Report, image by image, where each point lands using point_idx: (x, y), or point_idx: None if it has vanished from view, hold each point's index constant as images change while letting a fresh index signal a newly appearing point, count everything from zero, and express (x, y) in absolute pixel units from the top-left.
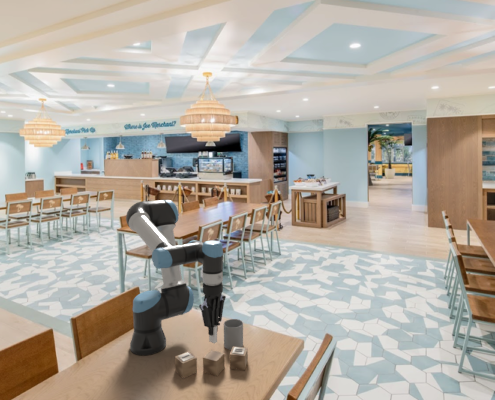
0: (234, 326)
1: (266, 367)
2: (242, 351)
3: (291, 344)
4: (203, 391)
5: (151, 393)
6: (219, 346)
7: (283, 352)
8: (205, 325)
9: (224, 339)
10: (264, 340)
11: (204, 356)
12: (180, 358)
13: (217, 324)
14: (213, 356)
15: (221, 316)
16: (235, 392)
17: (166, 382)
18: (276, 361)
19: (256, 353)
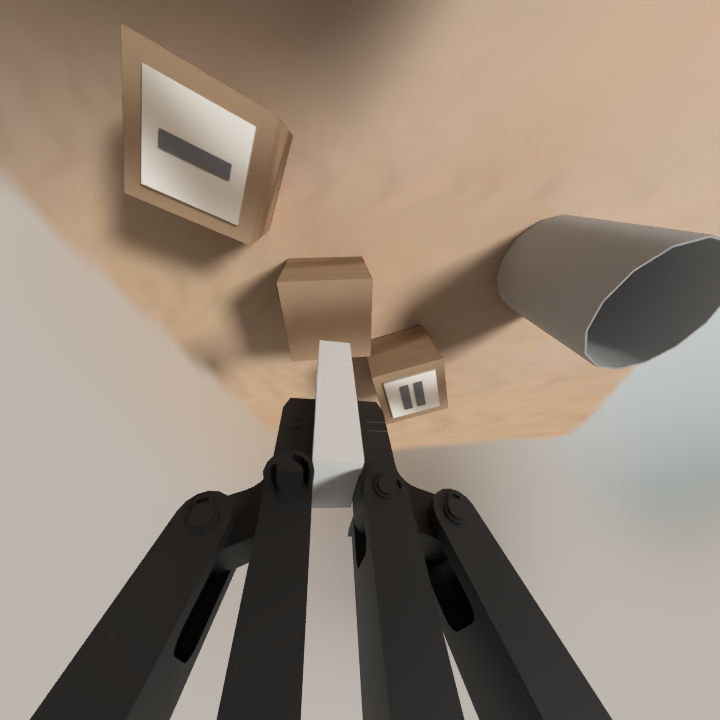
0: (666, 270)
1: (414, 421)
2: (410, 409)
3: (549, 426)
4: (193, 332)
5: None
6: (524, 203)
7: (502, 425)
8: (177, 534)
9: (550, 241)
10: (578, 358)
11: (290, 284)
12: (143, 124)
13: (349, 530)
14: (318, 327)
15: (458, 596)
16: (264, 409)
17: (70, 104)
18: (451, 428)
19: (484, 372)
